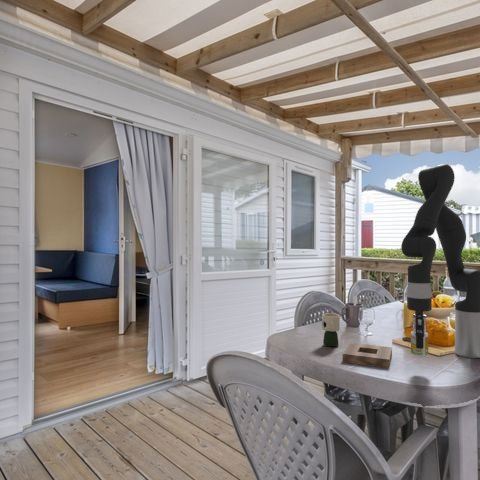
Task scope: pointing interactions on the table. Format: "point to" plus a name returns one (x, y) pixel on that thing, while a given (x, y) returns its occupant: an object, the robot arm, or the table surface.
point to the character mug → (330, 328)
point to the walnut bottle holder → (368, 355)
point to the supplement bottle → (415, 350)
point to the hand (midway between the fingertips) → (419, 345)
